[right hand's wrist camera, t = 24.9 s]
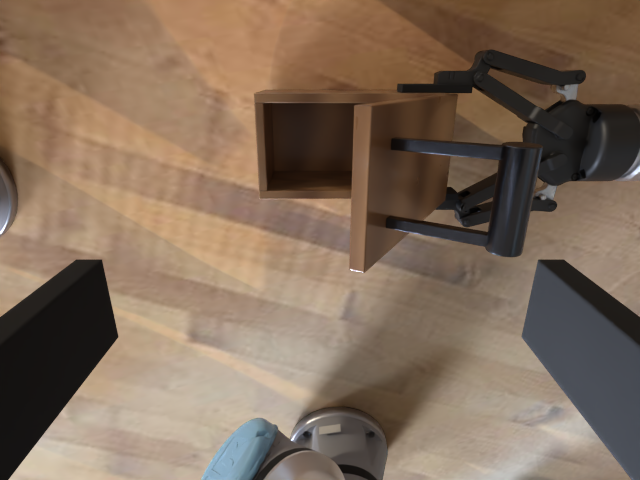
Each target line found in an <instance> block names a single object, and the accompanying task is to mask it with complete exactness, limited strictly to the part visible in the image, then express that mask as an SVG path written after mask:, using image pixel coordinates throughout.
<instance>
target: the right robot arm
mask: <svg viewBox="0 0 640 480" xmlns="http://www.w3.org/2000/svg"><path fill="white" fill-rule="evenodd" d="M17 206H18V198H17V191H16V186H15V183H14V180H13V178H12V175H11V173H10V172H9V170H8V168H7V166H6V165H5V163H4V162H3V160H2V159H1V158H0V236H2V235H3V234H4V233H5V232H6V231H7V230H8V229H9V228H10V226H11V225H12V223H13V221H14V219H15V216H16V213H17ZM117 338H118V333H117V328H116V324H115V319H114V314H113V310H112V305H111V300H110V296H109V291H108V286H107V282H106V277H105V272H104V268H103V263H102V260H75V261H74V262H73V263H71V264H70V265H69V266H67V267H66V268H65V269H63V270H62V271H61V272H59V273H58V274H57V275H55V276H54V277H53V278H51V279H50V280H49V281H48V282H46V283H45V284H44V285H42V286H41V287H40V288H38V289H37V290H36V291H34V292H33V293H32V294H30V295H29V296H28V297H26V298H25V299H24V300H22V301H21V302H20V303H18V304H17V305H16V306H14V307H13V308H12V309H10V310H9V311H8V312H7V313H5V314H4V315H3V316H1V317H0V480H8V479H9V478H10V477H11V475H12V474H13V473H14V472H15V470H16V469H17V468H18V466H19V465H20V464H21V462H22V461H23V460H24V459H25V457H26V456H27V455H28V453H29V452H30V451H31V450H32V448H33V447H34V446H35V444H36V443H37V442H38V440H39V439H40V438H41V437H42V435H43V434H44V433H45V431H46V430H47V429H48V427H49V426H50V425H51V424H52V422H53V421H54V420H55V418H56V417H57V416H58V415H59V413H60V412H61V411H62V409H63V408H64V407H65V405H66V404H67V403H68V402H69V400H70V399H71V398H72V396H73V395H74V394H75V392H76V391H77V390H78V389H79V387H80V386H81V385H82V383H83V382H84V381H85V380H86V378H87V377H88V376H89V374H90V373H91V372H92V370H93V369H94V368H95V367H96V365H97V364H98V363H99V361H100V360H101V359H102V357H103V356H104V355H105V354H106V352H107V351H108V350H109V348H110V347H111V346H112V345H113V343H114V342H115V341H116V339H117ZM522 338H523V339H524V341H525V342H526V343H527V345H528V346H529V347H530V348H531V350H532V351H533V352H534V354H535V355H536V356H537V357H538V359H539V360H540V361H541V363H542V364H543V365H544V367H545V368H546V369H547V370H548V372H549V373H550V374H551V376H552V377H553V378H554V380H555V381H556V382H557V383H558V385H559V386H560V387H561V389H562V390H563V391H564V392H565V394H566V395H567V396H568V398H569V399H570V400H571V402H572V403H573V404H574V405H575V407H576V408H577V409H578V411H579V412H580V413H581V415H582V416H583V417H584V418H585V420H586V421H587V422H588V424H589V425H590V426H591V427H592V429H593V430H594V431H595V433H596V434H597V435H598V437H599V438H600V439H601V440H602V442H603V443H604V444H605V446H606V447H607V448H608V450H609V451H610V452H611V453H612V455H613V456H614V457H615V459H616V460H617V461H618V462H619V464H620V465H621V466H622V468H623V469H624V470H625V472H626V473H627V474H628V475H629V477H630V478H631V479H632V480H640V317H639V316H637V315H636V314H635V313H633V312H632V311H631V310H630V309H628V308H627V307H626V306H624V305H623V304H622V303H620V302H619V301H618V300H616V299H615V298H614V297H612V296H611V295H610V294H608V293H607V292H606V291H604V290H603V289H602V288H600V287H599V286H598V285H596V284H595V283H594V282H592V281H591V280H590V279H589V278H587V277H586V276H585V275H583V274H582V273H581V272H579V271H578V270H577V269H575V268H574V267H573V266H571V265H570V264H569V263H567V262H566V261H565V260H538V263H537V268H536V272H535V277H534V282H533V286H532V291H531V296H530V300H529V305H528V310H527V314H526V319H525V324H524V328H523V333H522Z"/></svg>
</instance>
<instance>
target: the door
mask: <svg viewBox="0 0 640 480" xmlns="http://www.w3.org/2000/svg"><path fill="white" fill-rule="evenodd" d="M457 97H458V95H457V94H441V95H433V96H424V97H416V98H408V99H400V100H392V101H384V102H376V103H367V104H359V105H355V106H354V133H353V165H352V196H351V228H350V259H349V269H350V270H354V271H358V272H362V273H365V272H366V271H367V270H368V269H369V268H370V267H372V266H373V265H374V264H375V263H376V262H377V261H378V260H379V259H380V258H382V257H383V256H384V255H385V254H386V253H387V252H388V251H389V250H391V249H392V248H393V247H394V246H395V245H396V244H397V243H398V242H399V241H401V240H402V239H403V238H404V237H405V236H406V235H407V234H408V233H409V232H410V233H415V234H420V235H426V236H431V237H436V238H442V239H447V240H452V241H458V242H463V243H468V244H474V245H479V246H484V247H485V248H486V250H487V251H488V252H490V253H492V254H495V255H498V256H503V257H517V256H520V255H521V254H522V251H523V246H524V241H525V236H526V231H527V226H528V221H529V216H530V211H531V206H532V201H533V196H534V191H535V186H536V181H537V176H538V171H539V166H540V161H541V156H542V151H543V146H542V145H539V144H535V143H526V142H506V143H503V144H502V145H494V144H481V143H467V142H454V141H452V139H453V130H454V122H455V114H456V105H457ZM450 156H461V157H472V158H483V159H494V160H499V165H498V171H497V178H496V184H495V190H494V196H493V202H492V208H491V215H490V221H489V227H488V232H485V231H479V230H473V229H467V228H461V227H456V226H450V225H444V224H438V223H432V222H426V221H423V220H424V219H425V218H426V217H427V216H428V215H430V214H431V213H432V212H433V211H434V210H435V209H436V208H437V207H438V206H440V205H441V204H442V203H443V202H444V201H445V198H446V190H447V181H448V173H449V164H450Z"/></svg>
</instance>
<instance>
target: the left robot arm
mask: <svg viewBox="0 0 640 480" xmlns="http://www.w3.org/2000/svg"><path fill="white" fill-rule="evenodd" d="M490 68H491V69H495V70H498V71H501V72H504V73H507V74H510V75H514V76H517V77H520V78H523V79H526V80H530V81H533V82H536V83H540V84H545V85H551V90H552V92H553V93H556V94H559V95H560V97H561V100H560V101H558V102H557V103H555V104H554V105H552V106H551V107H549V108H548V109H546V110H543V109H542V108H540V107H537V106H535V105H534V104H532V103H531V102H529V101H528V100H526V99H525V98H523V97H522V96H520V95H519V94H517V93H516V92H514V91H513V90H511V89H510V88H508V87H506V86H505V85H503V84H502V83H500V82H499V81H497V80H496V79H494V78H493V77H491V76H490V75H488V74H487V73H488V71H489V69H490ZM585 78H586V74H585V72H584V71H583V70H566V71H558V70H555V69H552V68H549V67H545V66H542V65H539V64H536V63H533V62H530V61H527V60H523V59H520V58H517V57H514V56H511V55H508V54H505V53H501V52H498V51H495V50H485V51H480V52H478V53H477V54H476V55H475V61H474V63H473V65H472V67H471V68H470V69H469V70H467V71H439V72H437V73H435V74H434V84H398V86H397V92H401V93H472V87H474V88H475V89H477V90H478V91H480V92H482V93H483V94H485V95H486V96H488V97H489V98H491V99H492V100H494V101H496V102H497V103H499V104H500V105H502V106H503V107H505V108H506V109H508V110H509V111H511V112H513V113H514V114H516V115H517V116H518V117H519V118H520V119H522V120H523V121H525V122H527V123H528V124H527V126H526V127H524V128H523V134H522V135H523V142H526V143H535V144H539V145H542V146H543V151H542V156H541V161H540V166H539V171H538V176H537V177H538V178H539V179H540V180H542V181H543V182H544V183H543V185H542V186H541V187H540V188H536V189H535V191H534V196H533V201H532V206H531V211H547V212H552V211H554V210H555V209H556V207H557V203H556V202H555V201H554V200H553V198H554V195H555V192H556V188H557V186H558V185H561V184H563V183H565V182H568V181H612V180H616V181H640V104H633V105H627V106H626V105H622V104H582V103H580V102H579V101H577V100H576V97H577V90H578V84H580V83H582V82H583V81H584V80H585ZM496 178H497V173H495V174H493V175H491V176H490V177H488V178H486V179H484V180H482V181H480V182H478V183H476V184H474V185H472V186H470V187H468V188H466V189H464V190H462V191H460V192H458V193H457V192H456V191H455V190H454V189H453V188H451V187H447V190H446V198H445V201H444V202H443V203H442V204H441V205H440V206H438V207H437V208H436V209H435V210H454V211H455V218H456V219H457V220H458V221H459V222H460V223H461V224H462V225H463V226H464V227H470V226H474V225H478V224H482V223H486V222H489V221H490V215H491V208H492V202H493V201H492V202H488V203H484V204H480V205H477V204H479V203H481V202H483V201H485V200H487V199H489V198H491V197H493V196H494V190H495V184H496ZM475 205H476V206H475ZM387 451H388V450H387V443H386V438H385V434H384V431H383V429H382V427H381V426H380V425H379V423H378V422H377V421H376V420H375V419H374V418H372V417H371V416H370V415H368V414H366V413H364V412H362V411H359V410H356V409H353V408H347V407H330V408H324V409H321V410H318V411H315V412H313V413H311V414H309V415H307V416H306V417H304V418H303V419H302V420H301V421H300V422H299V423H298V424H297V425H296V426H295V428H294V429H293V431H292V434H291V437H290V439H289V438H287V437H286V436H285V435H284V434H283V433H281V432H280V431H279V430H278V427H277V426H276V425H273V424H271V423H270V422H268V421H267V420H265V419H263V418H255V419H252V420H250V421H248V422H246V423H245V424H243V425H242V426H241V427H239V428H238V429H237V430H236V431H235V432H234V433H233V434H232V435H231V436H230V437H229V438H228V439H227V440H226V442H225V443H224V444H223V445H222V446H221V448H220V449H219V450H218V452H217V453H216V455H215V456H214V458H213V459H212V461H211V462H210V464H209V466H208V467H207V469H206V471H205V473H204V475H203V477H202V479H201V480H383V474H384V469H385V464H386V459H387Z"/></svg>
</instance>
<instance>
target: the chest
mask: <svg viewBox="0 0 640 480" xmlns="http://www.w3.org/2000/svg"><path fill="white" fill-rule="evenodd" d="M441 94H448V93H401V92H397V90H263V91H260V92H257V93H254V102H255V104H254V106H255V125H256V143H257V162H258V181H259V198H260V199H351V196H352V165H353V133H354V106H355V105H359V104H367V103H376V102H384V101H392V100H400V99H408V98H416V97H424V96H433V95H441Z"/></svg>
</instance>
